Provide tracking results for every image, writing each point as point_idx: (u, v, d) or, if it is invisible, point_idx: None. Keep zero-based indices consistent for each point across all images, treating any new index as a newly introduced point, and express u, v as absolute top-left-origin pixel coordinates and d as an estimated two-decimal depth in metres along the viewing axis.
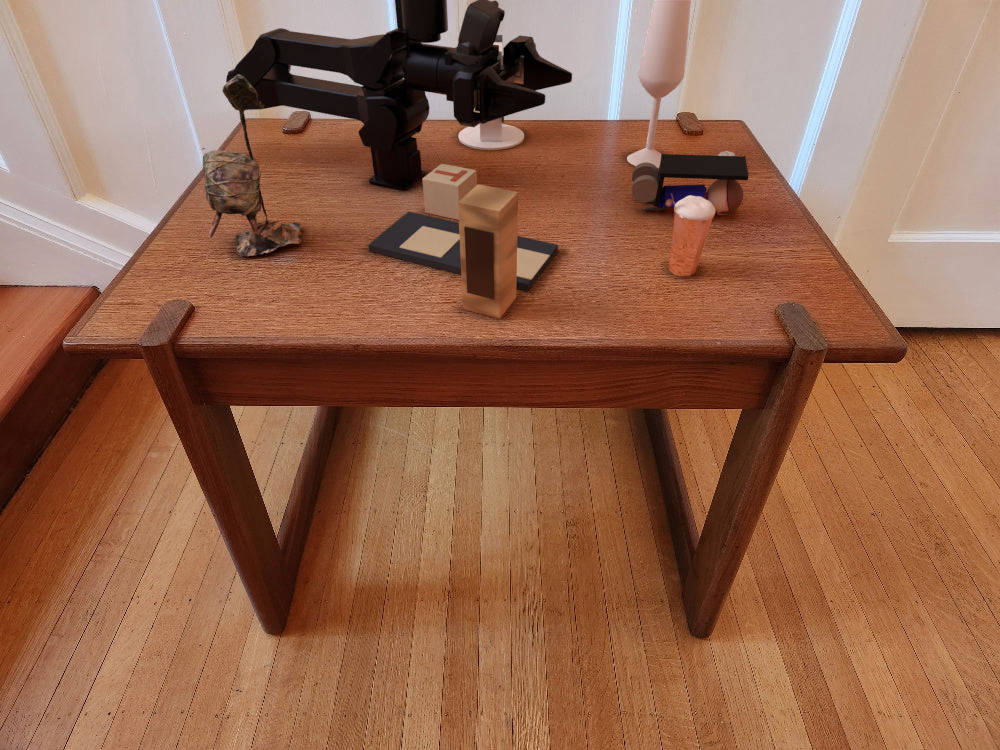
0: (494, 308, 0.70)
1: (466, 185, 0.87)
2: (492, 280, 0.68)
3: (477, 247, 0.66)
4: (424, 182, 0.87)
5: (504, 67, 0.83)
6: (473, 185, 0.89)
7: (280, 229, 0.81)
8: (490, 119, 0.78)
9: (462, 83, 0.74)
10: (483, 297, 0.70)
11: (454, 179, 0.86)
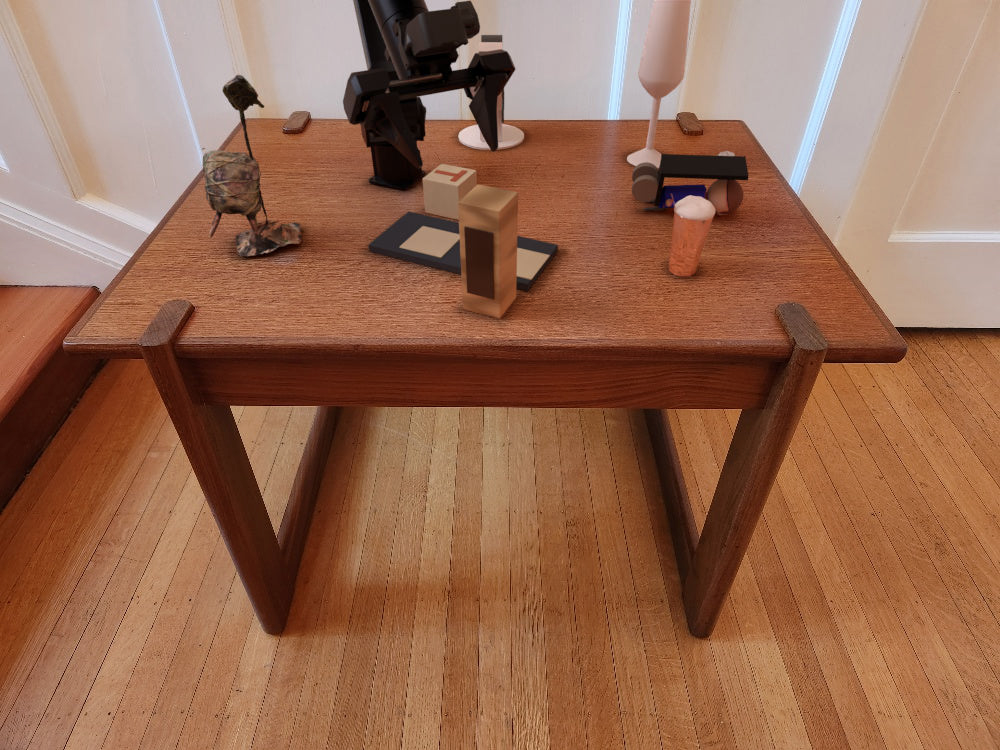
0: (494, 308, 0.70)
1: (466, 185, 0.87)
2: (492, 280, 0.68)
3: (477, 247, 0.66)
4: (424, 182, 0.87)
5: (455, 77, 0.70)
6: (473, 185, 0.89)
7: (280, 229, 0.81)
8: (375, 130, 0.69)
9: (351, 89, 0.64)
10: (483, 297, 0.70)
11: (454, 179, 0.86)
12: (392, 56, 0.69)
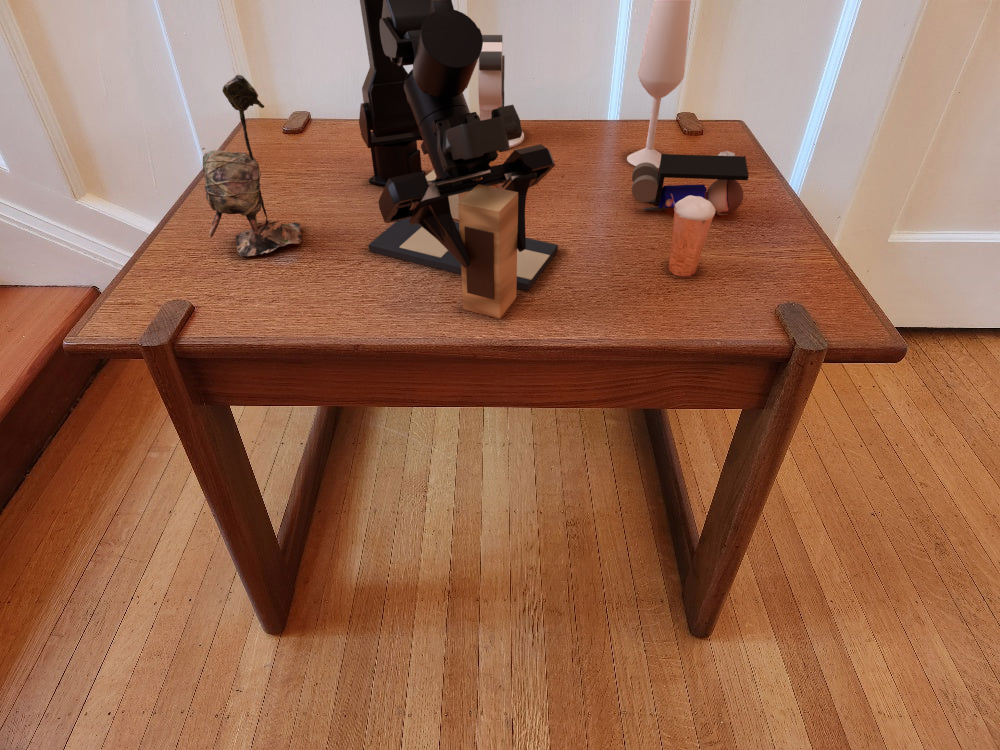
0: (495, 308, 0.70)
1: None
2: (492, 280, 0.68)
3: (477, 247, 0.66)
4: None
5: (493, 173, 0.68)
6: None
7: (280, 229, 0.81)
8: (421, 225, 0.68)
9: (389, 196, 0.62)
10: (483, 297, 0.70)
11: None
12: (429, 153, 0.67)
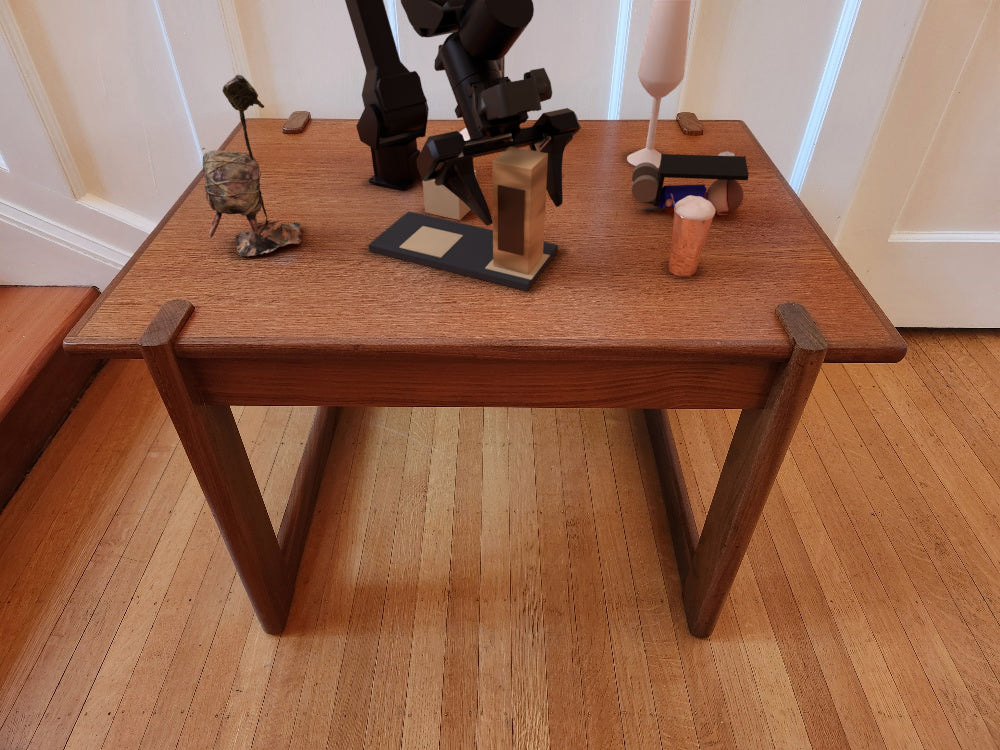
0: (523, 265, 0.75)
1: None
2: (522, 236, 0.72)
3: (509, 204, 0.71)
4: (424, 182, 0.87)
5: (523, 135, 0.73)
6: None
7: (280, 229, 0.81)
8: (445, 186, 0.72)
9: (428, 153, 0.67)
10: (513, 254, 0.74)
11: None
12: (464, 115, 0.71)
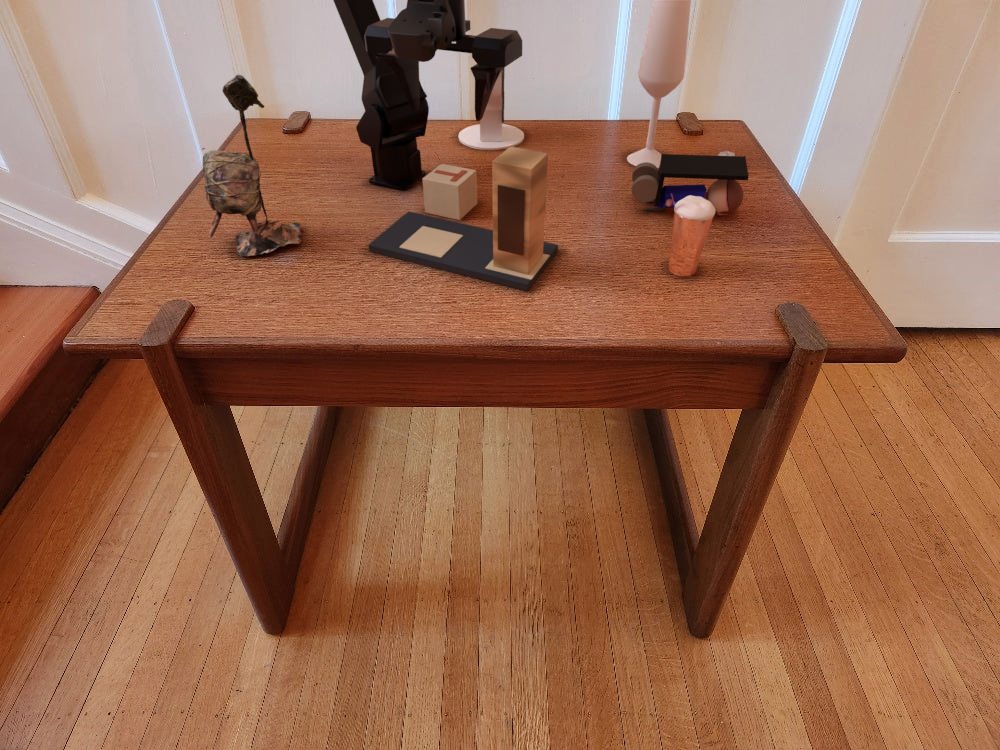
0: (523, 265, 0.75)
1: (466, 185, 0.87)
2: (522, 236, 0.72)
3: (509, 204, 0.71)
4: (424, 182, 0.87)
5: (463, 44, 0.75)
6: (473, 185, 0.89)
7: (280, 229, 0.81)
8: None
9: None
10: (513, 254, 0.74)
11: (454, 179, 0.86)
12: None
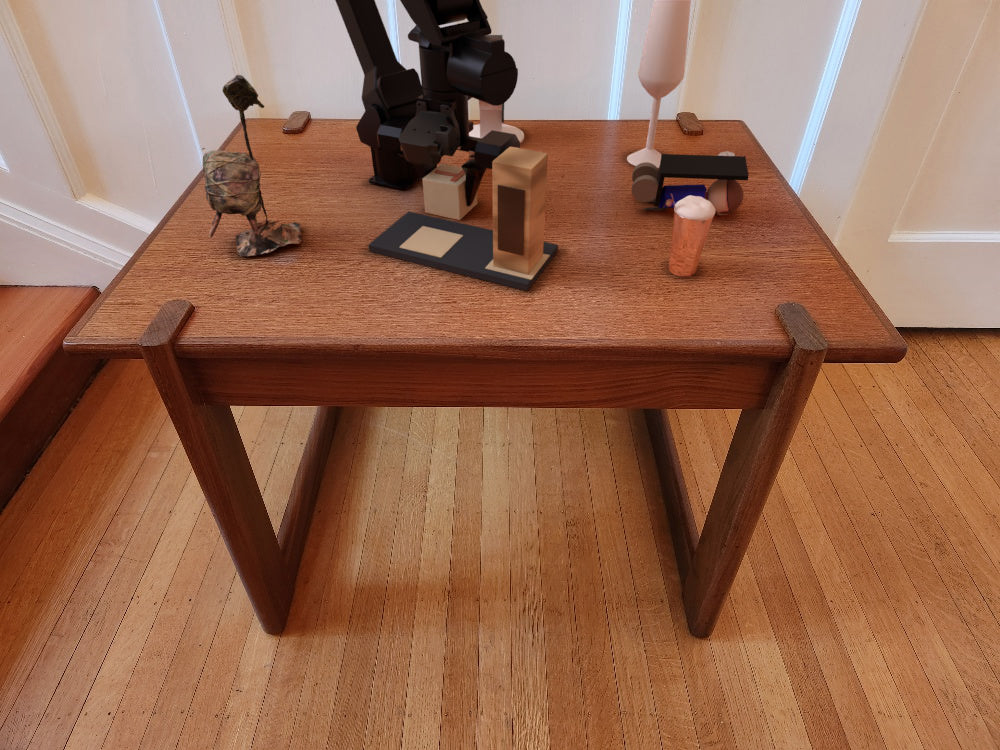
0: (523, 265, 0.75)
1: None
2: (522, 236, 0.72)
3: (509, 204, 0.71)
4: (424, 182, 0.87)
5: (466, 144, 0.83)
6: None
7: (280, 229, 0.81)
8: None
9: None
10: (513, 254, 0.74)
11: (454, 179, 0.86)
12: None
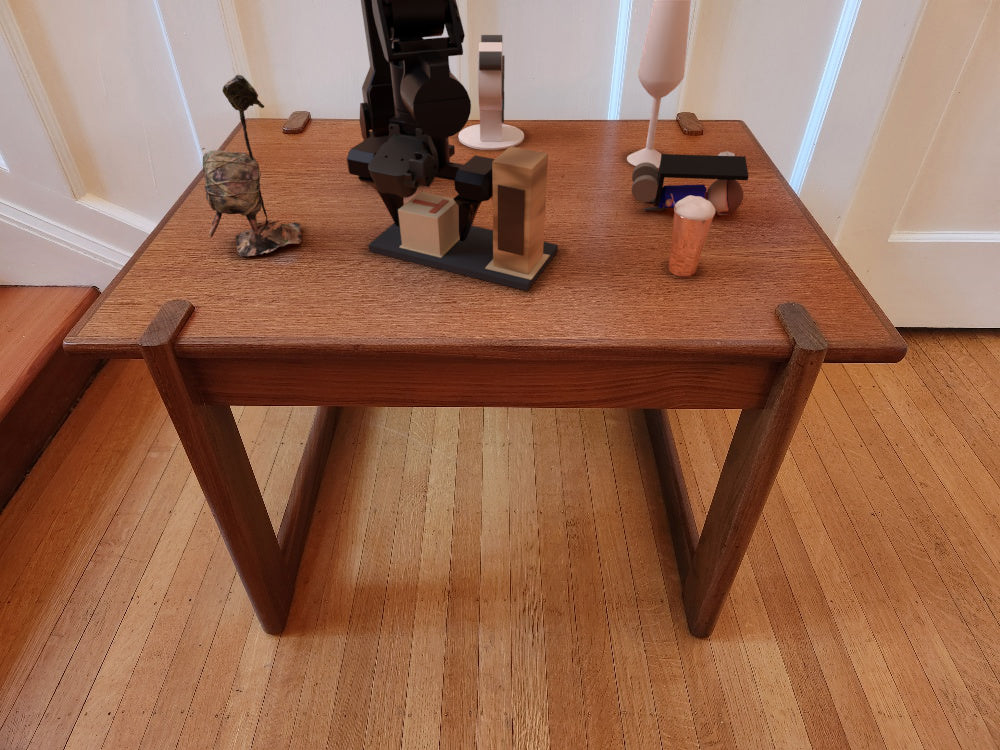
0: (523, 265, 0.75)
1: (447, 217, 0.78)
2: (522, 236, 0.72)
3: (509, 204, 0.71)
4: (400, 213, 0.78)
5: (446, 171, 0.74)
6: (455, 215, 0.80)
7: (280, 229, 0.81)
8: None
9: None
10: (513, 254, 0.74)
11: (434, 210, 0.77)
12: None
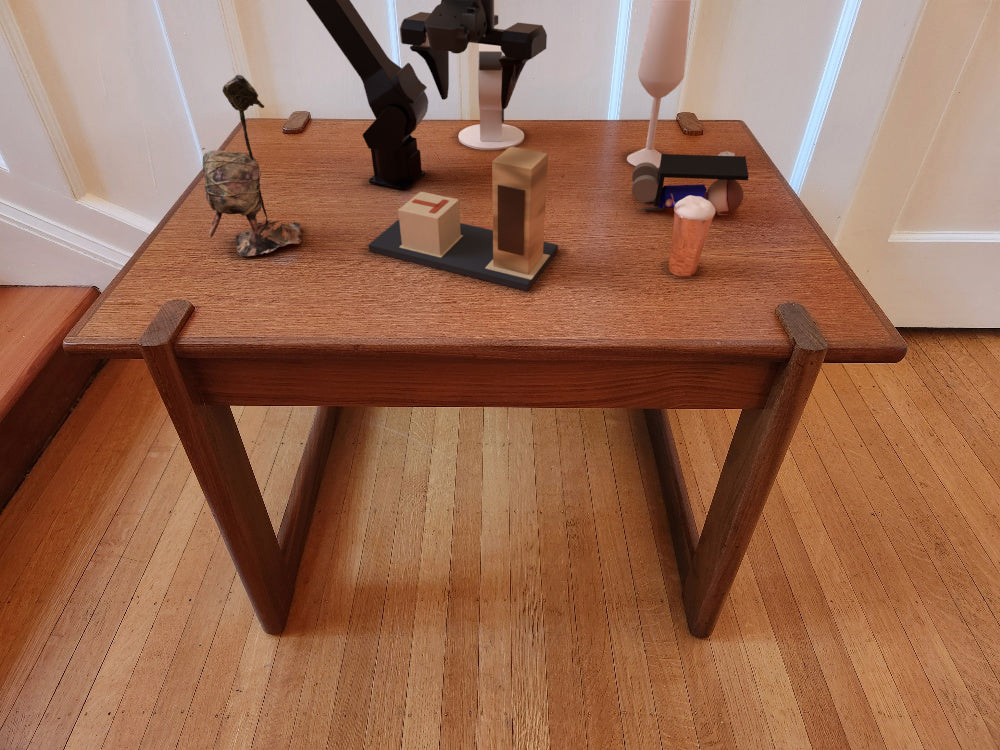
0: (523, 265, 0.75)
1: (447, 217, 0.78)
2: (522, 236, 0.72)
3: (509, 204, 0.71)
4: (400, 213, 0.78)
5: (492, 37, 0.81)
6: (455, 215, 0.80)
7: (280, 229, 0.81)
8: None
9: None
10: (513, 254, 0.74)
11: (434, 210, 0.77)
12: None
